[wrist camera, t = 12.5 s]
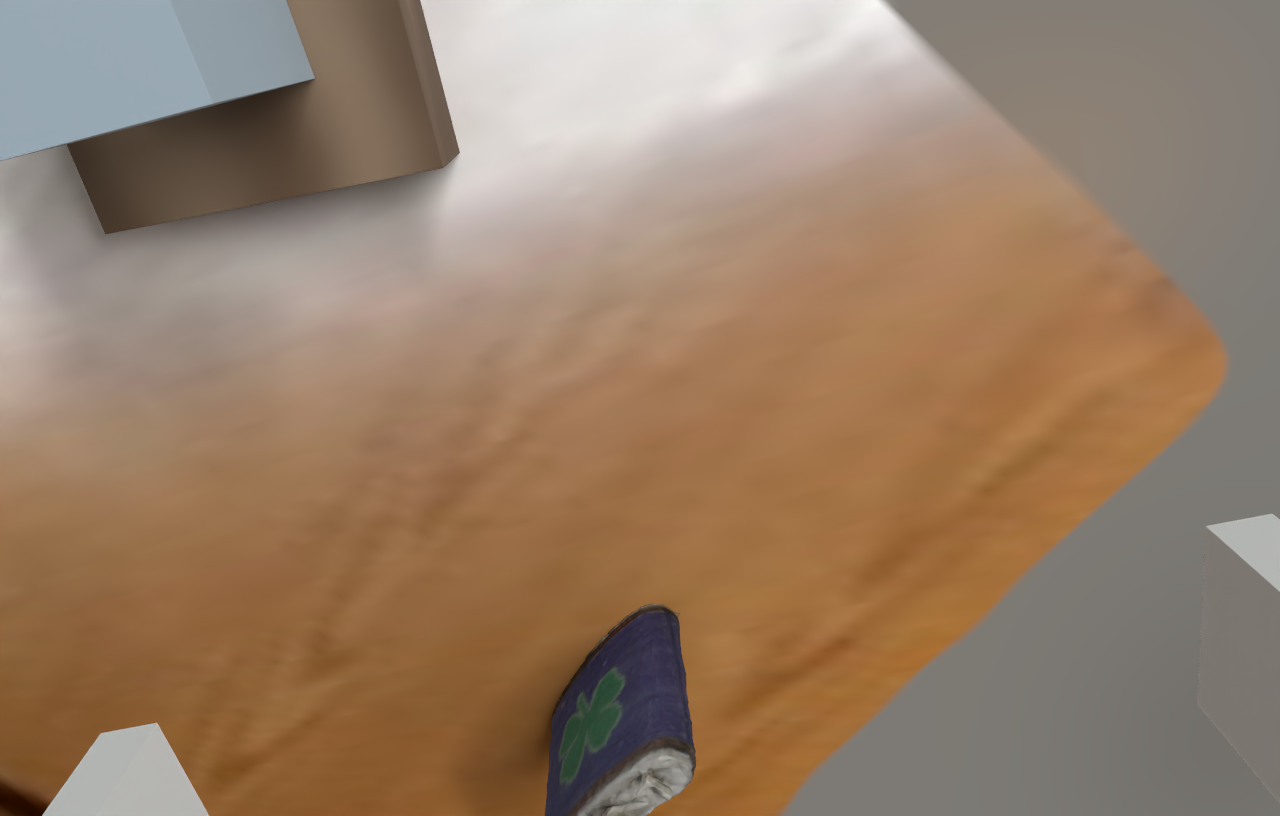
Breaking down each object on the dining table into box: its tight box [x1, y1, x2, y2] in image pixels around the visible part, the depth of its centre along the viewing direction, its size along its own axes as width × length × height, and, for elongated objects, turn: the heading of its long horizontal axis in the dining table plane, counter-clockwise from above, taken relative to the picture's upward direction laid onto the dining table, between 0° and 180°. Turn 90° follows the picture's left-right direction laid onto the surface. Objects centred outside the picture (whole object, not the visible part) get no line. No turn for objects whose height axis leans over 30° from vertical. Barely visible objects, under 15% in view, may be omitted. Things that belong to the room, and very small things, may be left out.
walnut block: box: [67, 0, 460, 234], centre depth 30 cm, size 12×12×4 cm
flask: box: [545, 603, 696, 816], centre depth 39 cm, size 9×3×11 cm, turn 144°
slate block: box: [0, 0, 315, 161], centre depth 25 cm, size 6×6×8 cm
